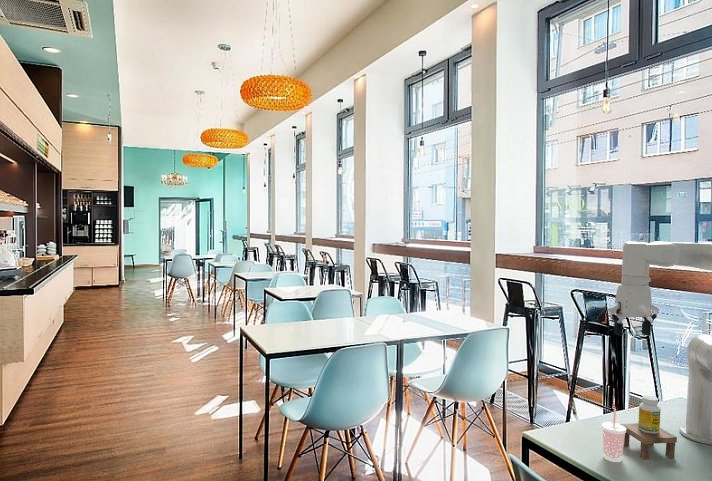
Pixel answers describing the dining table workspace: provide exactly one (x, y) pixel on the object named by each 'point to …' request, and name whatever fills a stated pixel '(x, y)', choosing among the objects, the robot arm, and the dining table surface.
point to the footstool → (650, 440)
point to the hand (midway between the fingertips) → (632, 334)
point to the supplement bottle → (649, 415)
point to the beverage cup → (613, 440)
